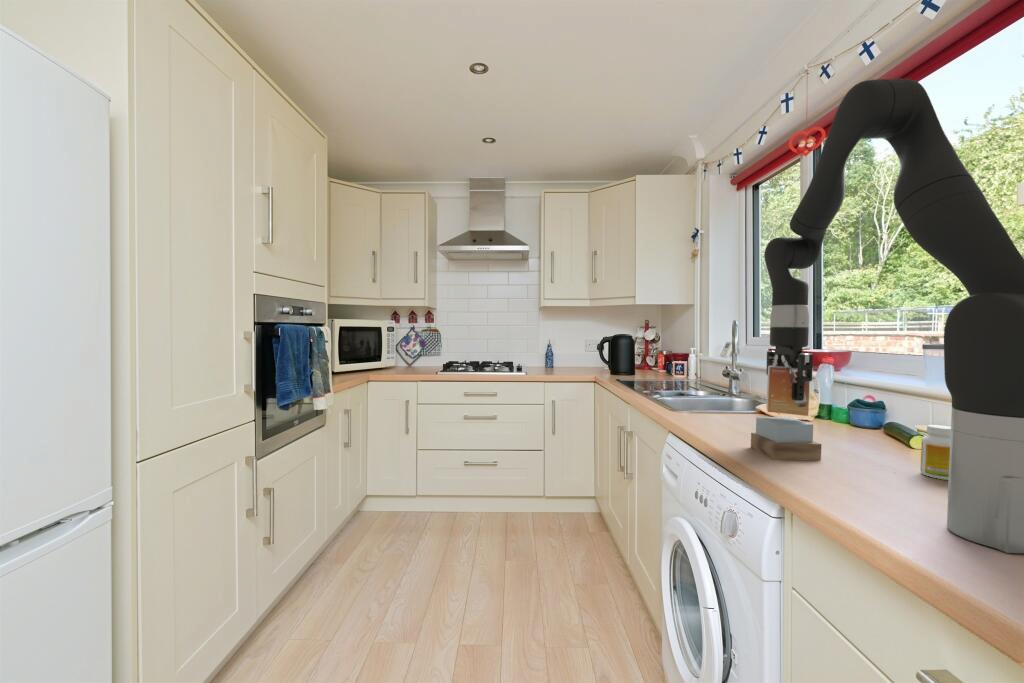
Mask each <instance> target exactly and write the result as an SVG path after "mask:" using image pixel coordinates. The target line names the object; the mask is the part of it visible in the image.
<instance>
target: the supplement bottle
mask: <svg viewBox="0 0 1024 683" xmlns="http://www.w3.org/2000/svg"><path fill="white" fill-rule="evenodd" d="M926 432H927V433H928V434H927V435H924V436H923V437H922V438H921V447H920V448H921V449H920V474H921V475H923V476H925V475H926V476H925V477H928V476H929V477H928V478H933V479H936V478H937V480H941V481H942V480H944V481H949V459H950V436H951V426H945V425H941V424H927V425H926Z"/></svg>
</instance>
